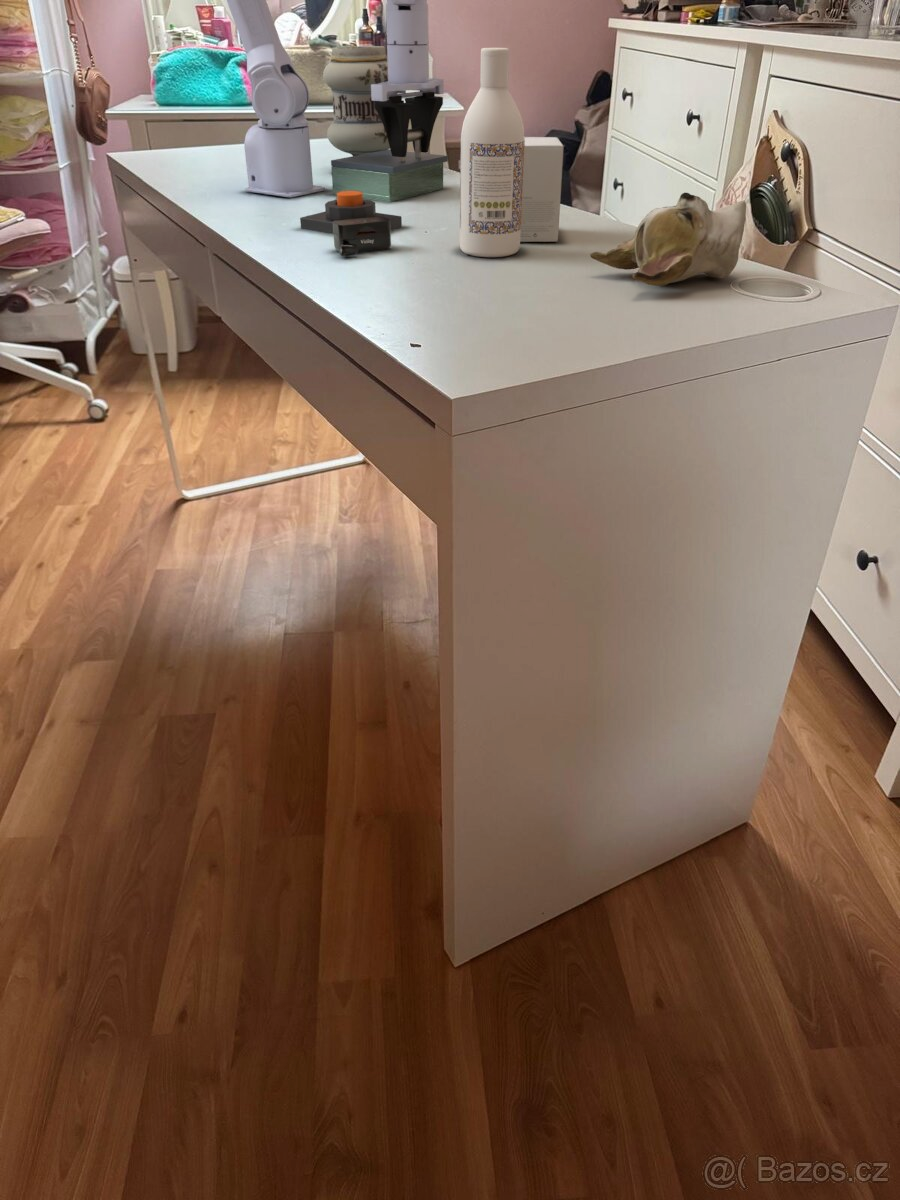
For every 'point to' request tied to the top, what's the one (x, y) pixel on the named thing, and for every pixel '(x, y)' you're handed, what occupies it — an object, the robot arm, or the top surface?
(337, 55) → the apothecary jar
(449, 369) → the top surface
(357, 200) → the button
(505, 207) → the bath foam
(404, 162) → the lid
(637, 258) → the ceramic sculpture
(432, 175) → the green hinged box
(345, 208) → the control block
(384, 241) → the dark grey gadget
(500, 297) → the top surface
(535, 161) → the small box
